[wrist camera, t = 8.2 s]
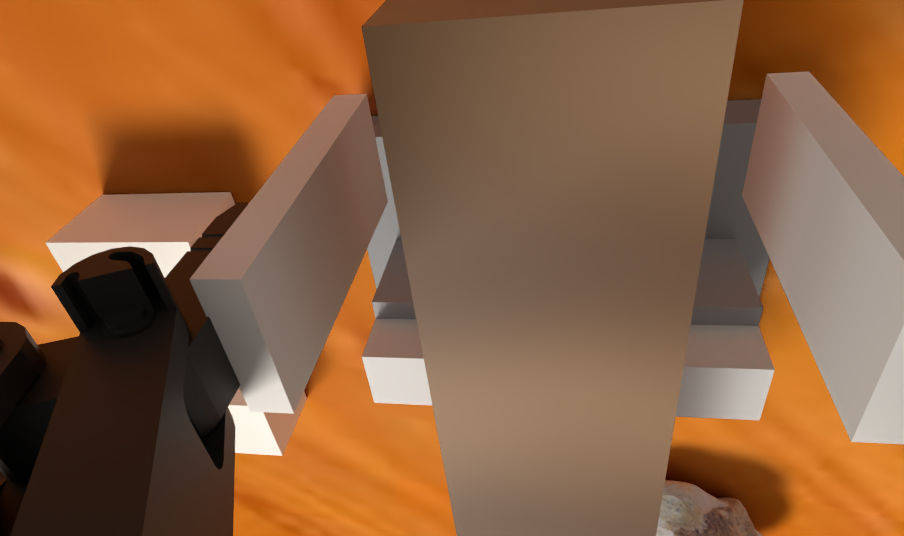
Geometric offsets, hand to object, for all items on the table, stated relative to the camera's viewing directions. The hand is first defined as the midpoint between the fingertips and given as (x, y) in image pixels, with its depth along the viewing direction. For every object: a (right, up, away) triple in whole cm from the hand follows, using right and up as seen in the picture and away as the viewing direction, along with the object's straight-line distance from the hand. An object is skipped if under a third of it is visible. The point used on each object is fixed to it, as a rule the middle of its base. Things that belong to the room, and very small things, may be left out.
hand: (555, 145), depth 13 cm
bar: (0, -6, +2) cm, 6 cm away
